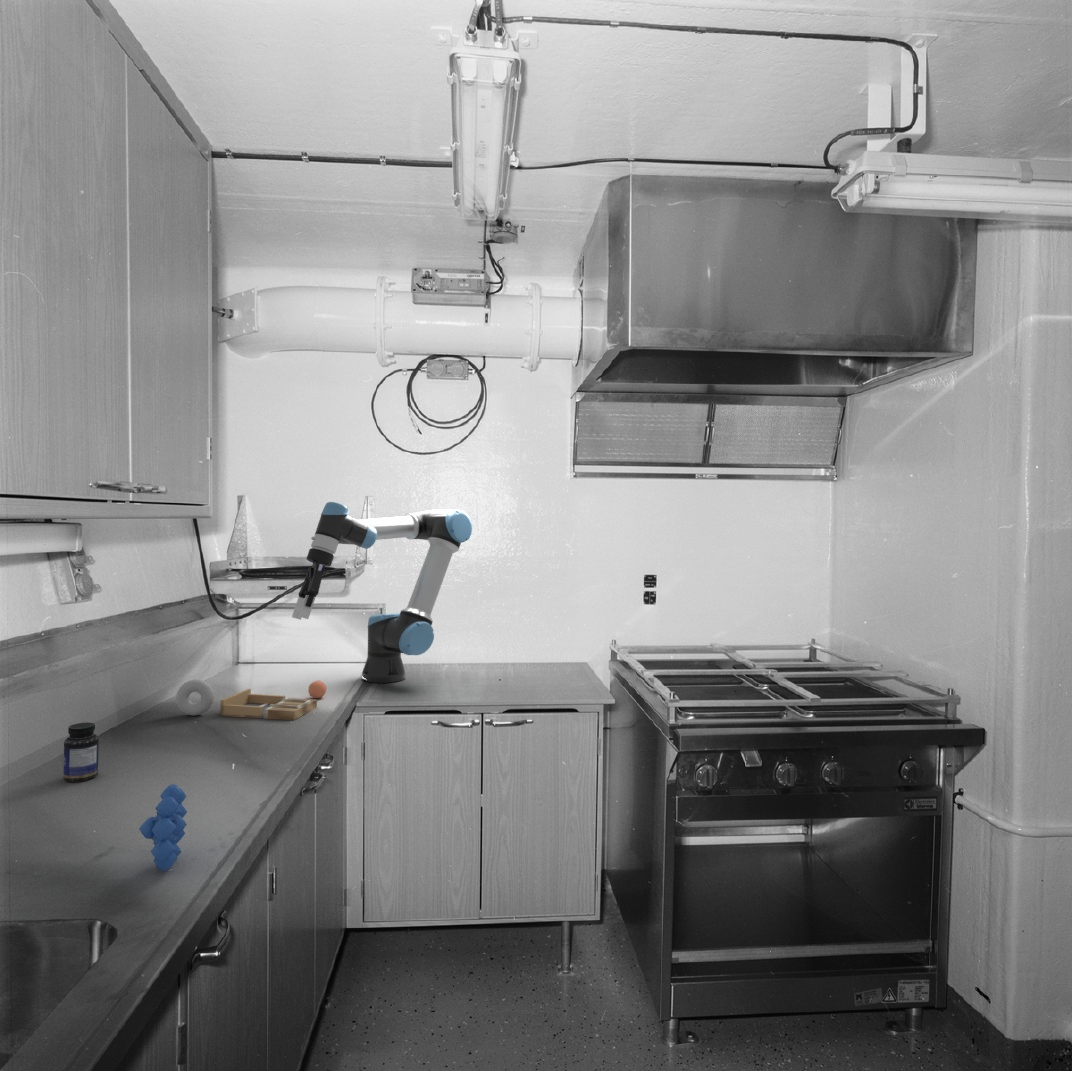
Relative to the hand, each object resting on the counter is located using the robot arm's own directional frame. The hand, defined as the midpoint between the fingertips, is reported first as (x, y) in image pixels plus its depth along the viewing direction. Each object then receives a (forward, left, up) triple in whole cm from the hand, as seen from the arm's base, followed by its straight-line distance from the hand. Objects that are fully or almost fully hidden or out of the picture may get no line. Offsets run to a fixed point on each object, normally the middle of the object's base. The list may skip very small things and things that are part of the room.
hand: (299, 618), depth 208 cm
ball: (-10, +2, -23) cm, 25 cm away
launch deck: (+8, +2, -26) cm, 27 cm away
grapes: (+96, +26, -26) cm, 103 cm away
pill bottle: (+65, -15, -26) cm, 72 cm away
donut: (+16, -22, -26) cm, 38 cm away
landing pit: (+8, -9, -26) cm, 29 cm away
